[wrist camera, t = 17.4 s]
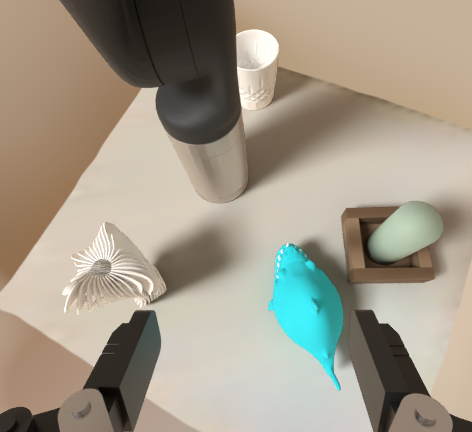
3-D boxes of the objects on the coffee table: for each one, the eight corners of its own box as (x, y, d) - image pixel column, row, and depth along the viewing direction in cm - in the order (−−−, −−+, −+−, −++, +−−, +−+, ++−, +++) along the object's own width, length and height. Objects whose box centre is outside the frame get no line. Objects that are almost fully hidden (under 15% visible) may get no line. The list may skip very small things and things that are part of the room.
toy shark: (316, 242, 49) (329, 218, 38) (366, 371, 42) (397, 384, 32) (253, 261, 48) (249, 242, 38) (293, 393, 42) (302, 413, 32)
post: (403, 265, 46) (448, 244, 35) (366, 266, 46) (399, 245, 35) (397, 230, 48) (438, 200, 36) (361, 232, 48) (391, 202, 37)
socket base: (422, 282, 45) (434, 278, 42) (348, 283, 46) (354, 279, 43) (409, 214, 49) (420, 206, 45) (340, 216, 50) (346, 208, 46)
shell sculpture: (159, 247, 50) (105, 205, 33) (183, 295, 48) (138, 274, 31) (110, 275, 50) (30, 246, 33) (132, 325, 47) (57, 321, 30)
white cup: (230, 80, 60) (224, 33, 50) (274, 74, 59) (275, 25, 50) (234, 116, 57) (228, 73, 48) (279, 110, 57) (282, 66, 47)
